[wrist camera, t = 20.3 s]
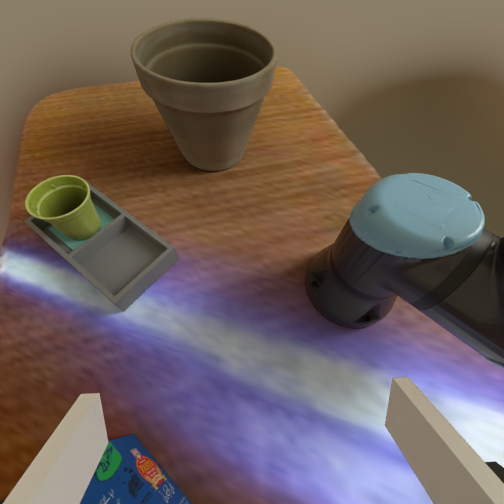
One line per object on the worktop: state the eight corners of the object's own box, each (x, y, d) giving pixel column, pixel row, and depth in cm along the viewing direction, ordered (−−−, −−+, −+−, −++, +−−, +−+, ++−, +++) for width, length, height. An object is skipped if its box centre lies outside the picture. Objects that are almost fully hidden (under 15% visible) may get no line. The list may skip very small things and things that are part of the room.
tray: (93, 194, 56) (84, 179, 52) (178, 258, 49) (174, 247, 45) (36, 232, 50) (21, 219, 47) (123, 311, 44) (114, 303, 40)
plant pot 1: (55, 215, 51) (24, 182, 43) (107, 202, 53) (85, 169, 46) (59, 255, 47) (25, 226, 39) (114, 238, 49) (92, 208, 42)
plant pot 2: (219, 107, 73) (213, 4, 54) (286, 152, 65) (306, 50, 46) (140, 147, 63) (100, 39, 45) (208, 206, 55) (193, 105, 37)
